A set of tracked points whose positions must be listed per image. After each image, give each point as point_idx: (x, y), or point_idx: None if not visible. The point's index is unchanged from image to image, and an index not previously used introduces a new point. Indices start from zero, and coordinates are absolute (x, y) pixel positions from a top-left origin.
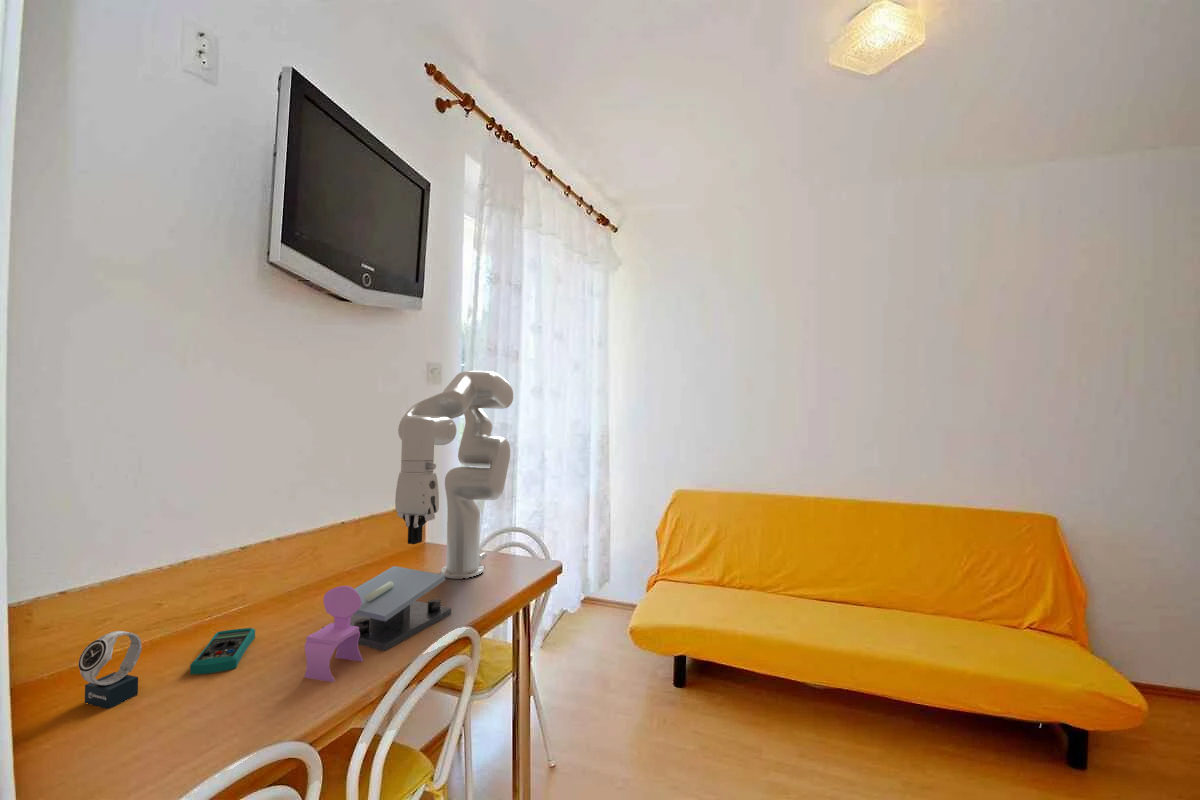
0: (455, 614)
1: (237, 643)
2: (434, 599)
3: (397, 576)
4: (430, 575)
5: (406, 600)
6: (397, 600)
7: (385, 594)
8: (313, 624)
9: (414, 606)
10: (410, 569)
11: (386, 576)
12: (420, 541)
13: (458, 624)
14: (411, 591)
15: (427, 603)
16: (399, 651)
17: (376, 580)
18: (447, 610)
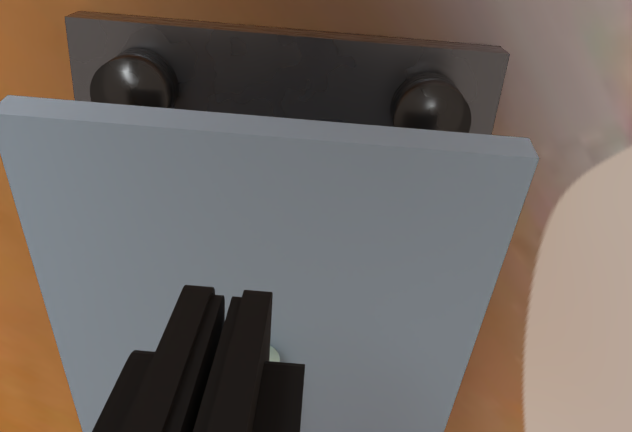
0: (524, 35)
1: None
2: (417, 99)
3: (180, 241)
4: (418, 184)
5: (443, 412)
6: (394, 417)
7: None
8: (6, 333)
9: (294, 108)
10: (182, 136)
11: (103, 252)
12: (271, 315)
13: (594, 139)
14: (414, 354)
15: (335, 44)
16: (472, 391)
17: (93, 301)
18: (501, 85)
